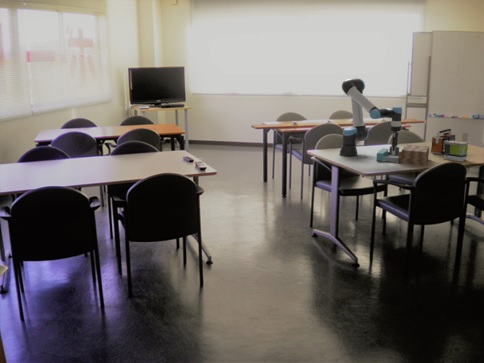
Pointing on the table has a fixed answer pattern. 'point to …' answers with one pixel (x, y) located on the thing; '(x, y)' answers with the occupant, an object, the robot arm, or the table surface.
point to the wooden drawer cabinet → (414, 155)
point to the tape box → (395, 151)
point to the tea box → (455, 150)
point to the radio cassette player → (441, 141)
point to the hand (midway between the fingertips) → (393, 153)
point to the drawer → (386, 156)
